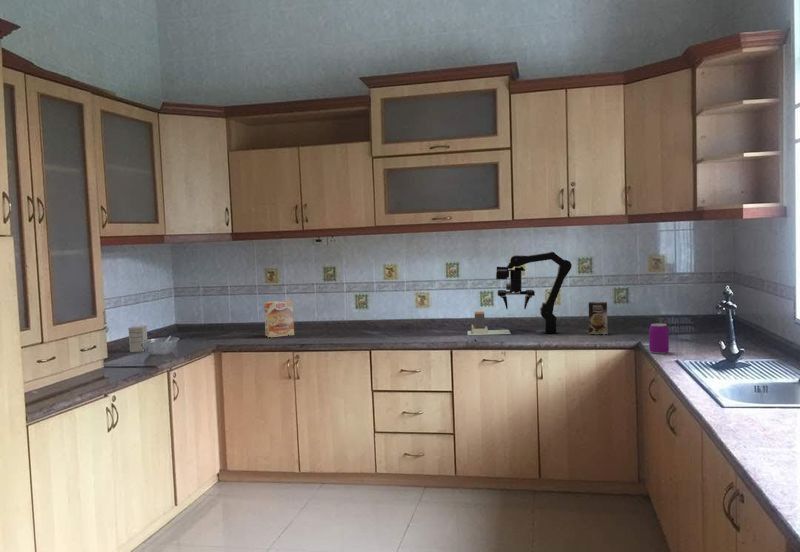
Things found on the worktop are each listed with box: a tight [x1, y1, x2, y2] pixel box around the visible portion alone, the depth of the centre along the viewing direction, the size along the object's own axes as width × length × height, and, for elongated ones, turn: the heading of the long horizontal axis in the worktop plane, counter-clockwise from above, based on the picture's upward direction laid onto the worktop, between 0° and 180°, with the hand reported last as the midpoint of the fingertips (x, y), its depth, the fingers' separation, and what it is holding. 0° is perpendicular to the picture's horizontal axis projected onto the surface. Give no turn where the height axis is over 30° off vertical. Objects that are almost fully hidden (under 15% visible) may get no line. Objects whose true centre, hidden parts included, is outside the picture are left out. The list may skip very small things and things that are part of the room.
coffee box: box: [588, 301, 608, 335], centre depth 349 cm, size 9×6×16 cm
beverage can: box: [648, 323, 670, 355], centre depth 293 cm, size 8×8×12 cm
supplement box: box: [127, 324, 148, 353], centre depth 357 cm, size 7×7×13 cm
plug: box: [473, 310, 486, 329], centre depth 362 cm, size 5×4×11 cm
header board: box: [467, 324, 511, 336], centre depth 362 cm, size 22×14×5 cm, turn 85°
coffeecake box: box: [263, 299, 295, 338], centre depth 390 cm, size 15×7×20 cm, turn 118°
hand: (515, 309), depth 361 cm, fingers open, 9 cm apart
